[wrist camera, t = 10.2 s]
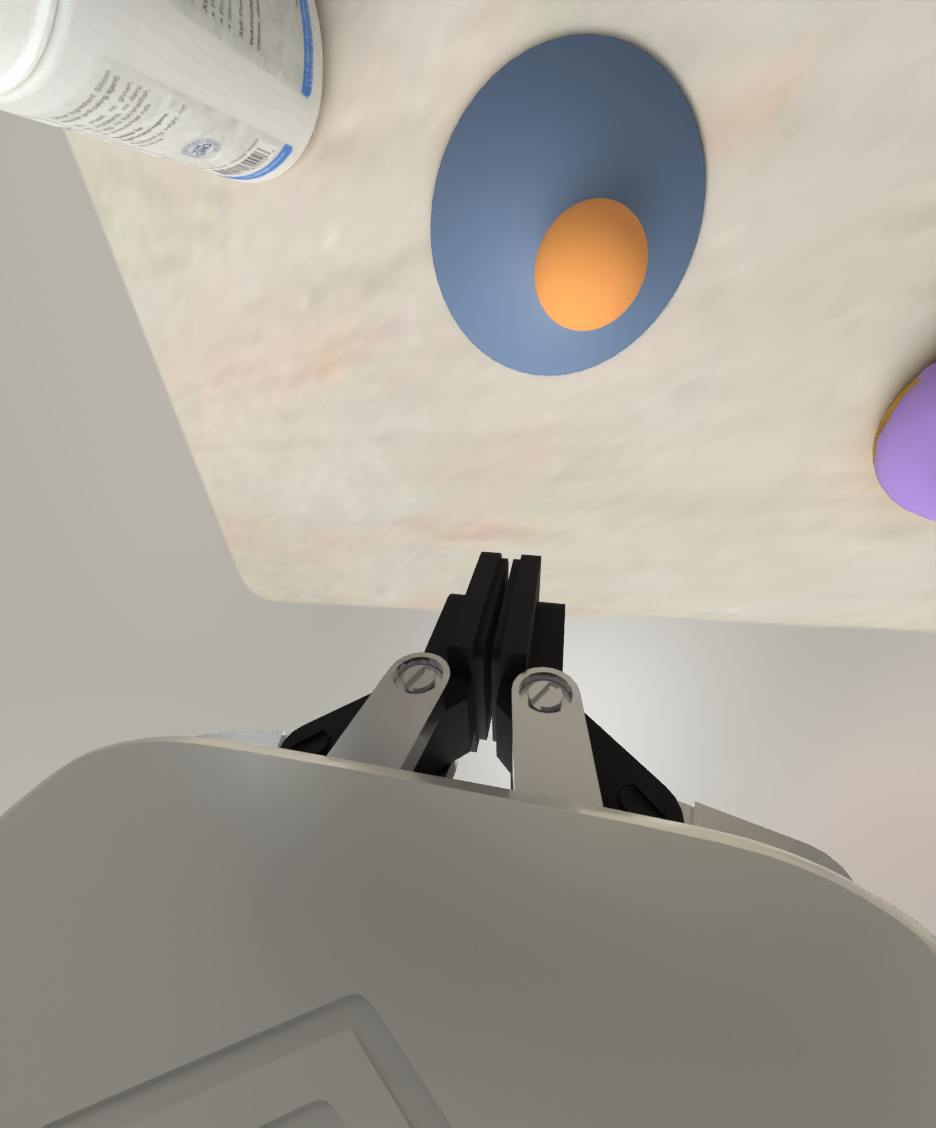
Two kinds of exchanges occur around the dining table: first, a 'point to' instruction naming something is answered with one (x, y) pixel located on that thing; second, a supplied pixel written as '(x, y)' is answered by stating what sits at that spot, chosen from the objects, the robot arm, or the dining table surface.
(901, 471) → the donut
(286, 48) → the supplement tub
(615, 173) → the disc
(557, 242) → the ball
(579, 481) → the dining table surface
